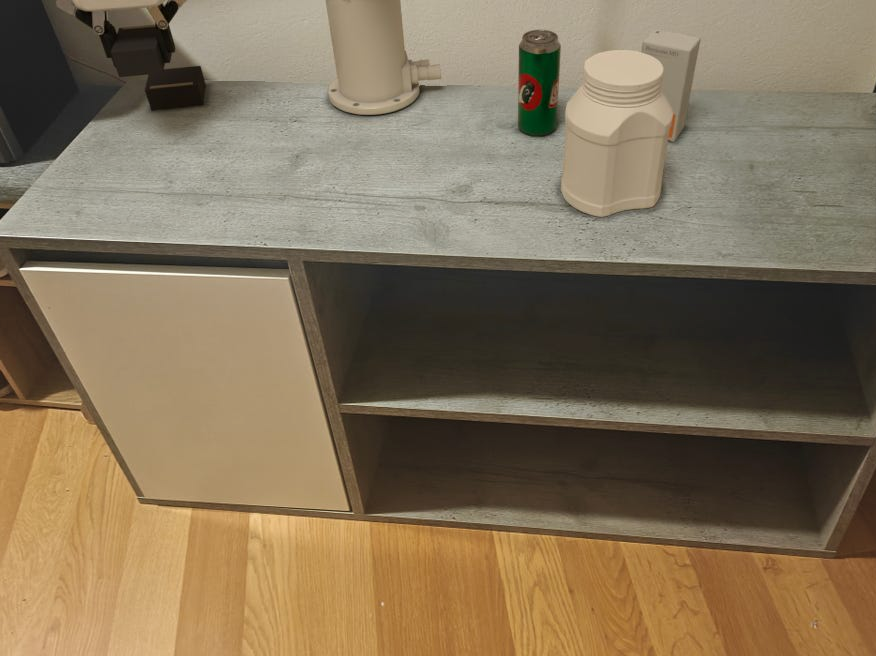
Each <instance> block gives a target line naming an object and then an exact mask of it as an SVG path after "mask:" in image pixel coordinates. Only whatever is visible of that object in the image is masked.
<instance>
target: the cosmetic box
mask: <svg viewBox="0 0 876 656" xmlns="http://www.w3.org/2000/svg"><path fill="white" fill-rule="evenodd" d="M700 44H701V37H698V36H693V35H688V34H684V33H681V32H676V31H666V30H662V29H661V30H660V29H656V28H653V29H652V30H651V31H650V32H649V34H648V35H647V36H646V37H645V38H644V40H643V41H642V45H641V51H640V52H641V53H645V54H648V55H650V56H652V57H654V58H656V59H657V60H658V61H660V63H661V64H662V65H663V68H664V72H663V77H662V86H661V90H662V92H663V93H664V95H665V97H666V99H667V101H668V102H669V104H670V106H671V108H672V111H673V118H672V124H671V127H670V131H669V137H668V142H671V143H674V142H675V141H676V140H677V138H678V137H679V135H680V134H681V133H682V131H683V129H684V128H685V125H686V121H687V115H688V109H689V104H690V99H691V92H692V88H693V82H694V77H695V76H694V75H695V71H696V66H697V59H698V55H699V50H700Z"/></svg>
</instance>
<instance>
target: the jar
mask: <svg viewBox="0 0 876 656" xmlns="http://www.w3.org/2000/svg"><path fill="white" fill-rule="evenodd" d="M663 72H664V68H663V65H662V64H661V63H660V61H658V60H657V59H656V58H654V57H652V56H650V55H648V54H645V53H641V51H636V50H631V49H630V50H629V49H613V50H605V51H601V52H598V53H595V54H593V55H591V56H590V57H589V58H587V59H586V60H585V62H584V65H583V72H582V74H583V75H582V84H581V85H580V86H579V88H578V89H577V90H576V91H575V92H574V94H572V96H571V97H570V98H569V100H568V101H567V103H566V106H565V111H564V120H565V127H564V130H565V131H564V142H563V143H564V144H563V159H562V160H563V161H562V175H561V180H560V192H561V195H562V197H563V198H564V200H565V201H566V203H568V204H569V205H570V206H571V207H573V208H574V209H576V210H577V211H579V212H582V213H584V214H587V215H590V216H594V217H598V218H605V217H610V216H611V215H613V214H616V213H620V212H624V211H628V210H639V209H640V210H641V209H642V210H643V209H649V208H653V207H654V206H655V205H656V204H657V203H658V201H659V199H660V197H661V191H662V185H663V181H662V179H663V175H664V174H663V173H664V168H665V161H666V155H667V148H668V143H669V140H668V137H669V131H670V127H671V124H672V118H673V111H672V108H671V106H670V104H669V102H668V101H667V99H666V97H665V95H664V93H663V92H662V90H661V86H662V77H663Z"/></svg>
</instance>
